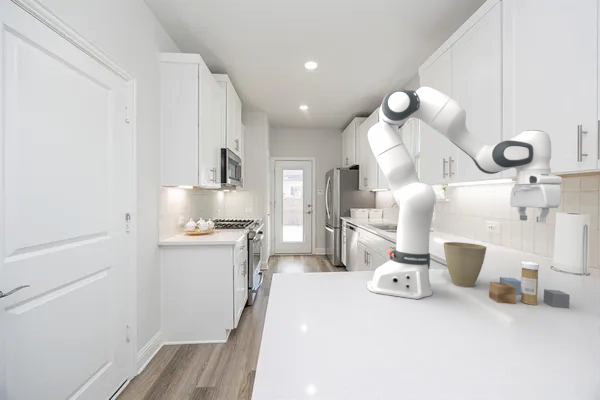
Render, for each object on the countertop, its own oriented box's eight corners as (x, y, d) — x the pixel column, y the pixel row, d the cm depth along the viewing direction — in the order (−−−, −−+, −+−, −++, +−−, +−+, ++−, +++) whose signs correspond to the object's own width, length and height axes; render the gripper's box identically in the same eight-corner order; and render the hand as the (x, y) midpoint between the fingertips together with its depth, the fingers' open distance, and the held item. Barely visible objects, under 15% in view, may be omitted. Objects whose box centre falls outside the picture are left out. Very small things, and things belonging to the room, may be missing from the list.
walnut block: (497, 302, 93) (497, 286, 93) (489, 297, 99) (489, 281, 99) (515, 304, 92) (516, 287, 92) (506, 298, 98) (507, 283, 98)
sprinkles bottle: (539, 303, 94) (541, 263, 94) (534, 306, 91) (536, 264, 91) (523, 299, 97) (524, 260, 97) (517, 301, 95) (519, 261, 95)
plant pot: (437, 278, 122) (438, 241, 122) (474, 280, 120) (475, 243, 120) (449, 288, 107) (451, 246, 107) (492, 292, 105) (494, 249, 105)
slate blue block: (506, 294, 103) (506, 280, 103) (499, 290, 108) (499, 277, 108) (521, 295, 102) (522, 281, 102) (513, 291, 107) (514, 278, 107)
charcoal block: (553, 307, 91) (553, 293, 91) (543, 302, 96) (544, 289, 96) (569, 308, 90) (569, 294, 90) (558, 303, 95) (559, 290, 95)
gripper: (505, 181, 105) (504, 219, 105) (542, 177, 85) (541, 223, 85) (524, 182, 104) (523, 219, 104) (566, 177, 84) (565, 224, 84)
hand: (531, 221), depth 94 cm, fingers open, 8 cm apart
